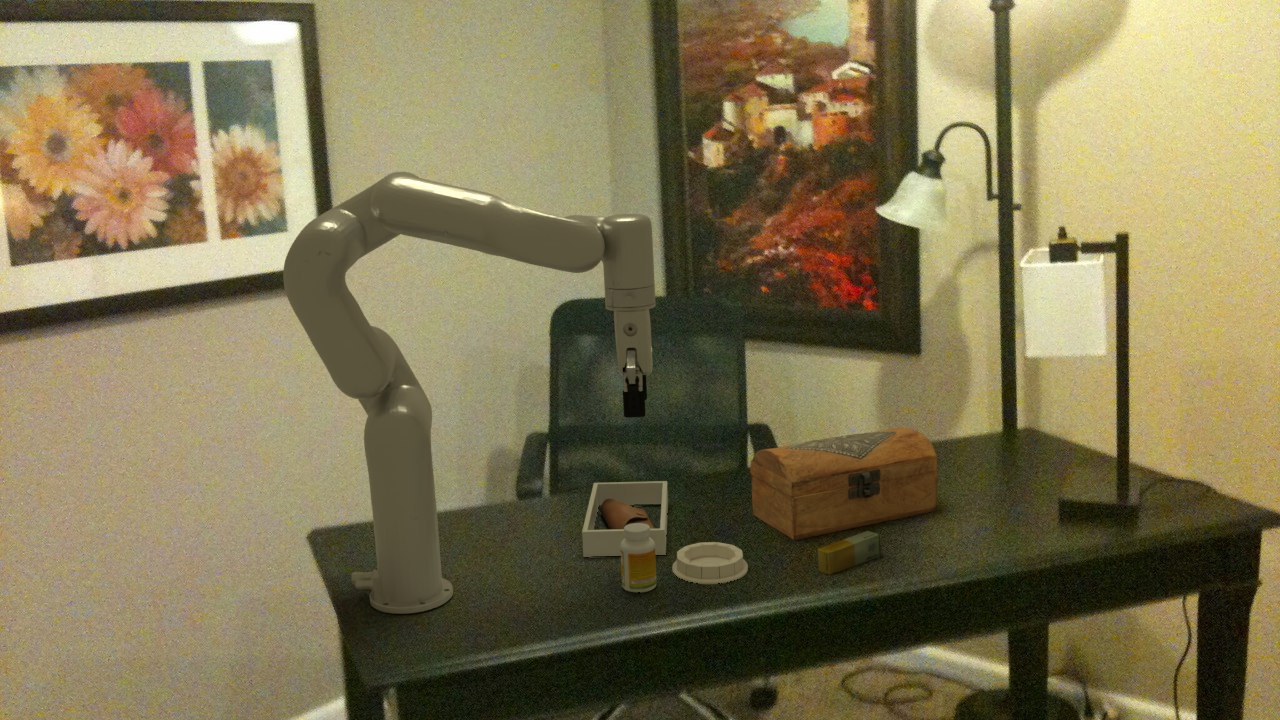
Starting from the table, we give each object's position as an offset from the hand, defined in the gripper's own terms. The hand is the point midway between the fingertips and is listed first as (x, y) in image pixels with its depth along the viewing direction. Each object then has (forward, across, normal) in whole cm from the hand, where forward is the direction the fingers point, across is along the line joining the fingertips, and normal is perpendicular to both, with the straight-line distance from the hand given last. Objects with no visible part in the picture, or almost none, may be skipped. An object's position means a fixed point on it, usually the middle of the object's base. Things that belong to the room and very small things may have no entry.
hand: (635, 408), depth 183 cm
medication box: (+28, +4, -33) cm, 44 cm away
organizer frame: (+28, +22, +4) cm, 36 cm away
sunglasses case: (+28, +22, +3) cm, 36 cm away
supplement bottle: (+28, -3, +1) cm, 28 cm away
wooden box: (+29, +27, -35) cm, 53 cm away
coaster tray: (+28, +3, -10) cm, 30 cm away
